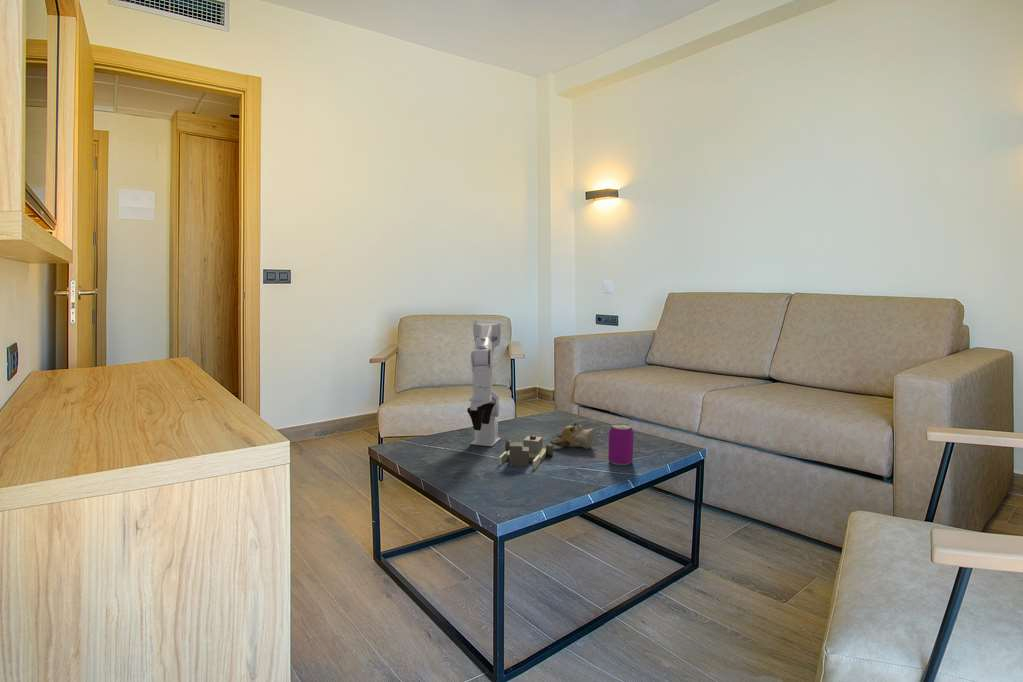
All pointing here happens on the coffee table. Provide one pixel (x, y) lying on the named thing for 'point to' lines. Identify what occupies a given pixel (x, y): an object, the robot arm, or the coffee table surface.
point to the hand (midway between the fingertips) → (481, 426)
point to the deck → (530, 450)
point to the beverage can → (621, 444)
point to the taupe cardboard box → (518, 454)
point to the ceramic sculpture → (575, 437)
